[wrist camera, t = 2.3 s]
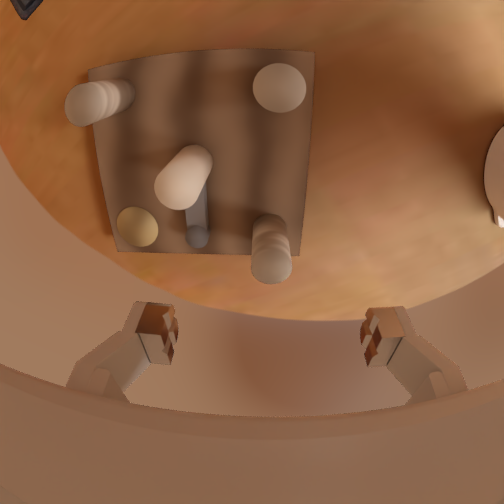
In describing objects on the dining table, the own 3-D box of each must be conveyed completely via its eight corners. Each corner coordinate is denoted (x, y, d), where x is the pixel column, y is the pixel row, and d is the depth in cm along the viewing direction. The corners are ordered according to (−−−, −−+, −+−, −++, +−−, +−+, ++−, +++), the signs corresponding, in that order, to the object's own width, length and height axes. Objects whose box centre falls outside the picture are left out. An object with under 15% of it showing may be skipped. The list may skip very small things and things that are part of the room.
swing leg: (216, 238, 32) (207, 279, 27) (184, 237, 32) (169, 277, 27) (212, 143, 26) (197, 165, 21) (175, 145, 26) (151, 167, 21)
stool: (309, 54, 24) (332, 45, 16) (296, 242, 36) (306, 298, 28) (101, 68, 24) (46, 75, 16) (126, 238, 37) (94, 288, 28)
